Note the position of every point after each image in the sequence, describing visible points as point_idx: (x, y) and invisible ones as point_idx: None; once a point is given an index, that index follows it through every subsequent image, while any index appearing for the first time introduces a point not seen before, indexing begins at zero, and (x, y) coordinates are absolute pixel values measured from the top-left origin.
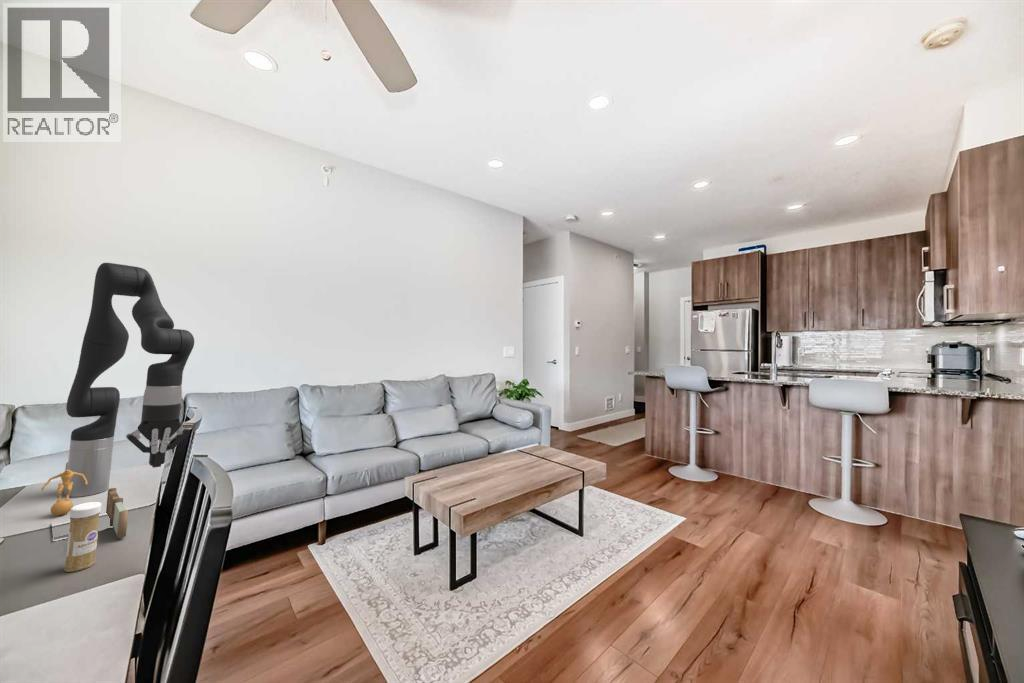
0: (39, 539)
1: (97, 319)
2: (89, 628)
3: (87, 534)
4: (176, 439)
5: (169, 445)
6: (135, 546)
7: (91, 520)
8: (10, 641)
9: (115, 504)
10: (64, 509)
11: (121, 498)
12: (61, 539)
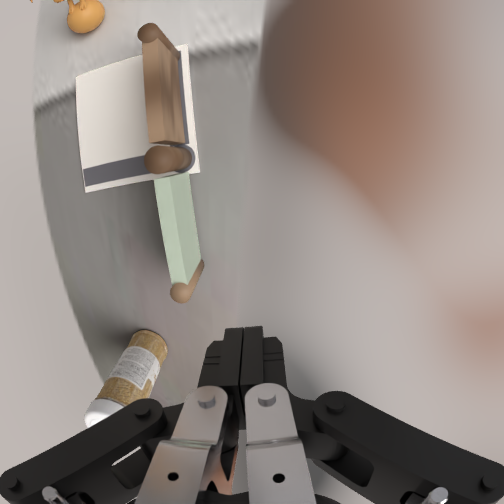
0: (67, 158)
1: None
2: None
3: None
4: (365, 496)
5: (316, 458)
6: (223, 320)
7: None
8: (139, 446)
9: (155, 187)
10: (87, 29)
11: (166, 155)
12: (96, 189)
